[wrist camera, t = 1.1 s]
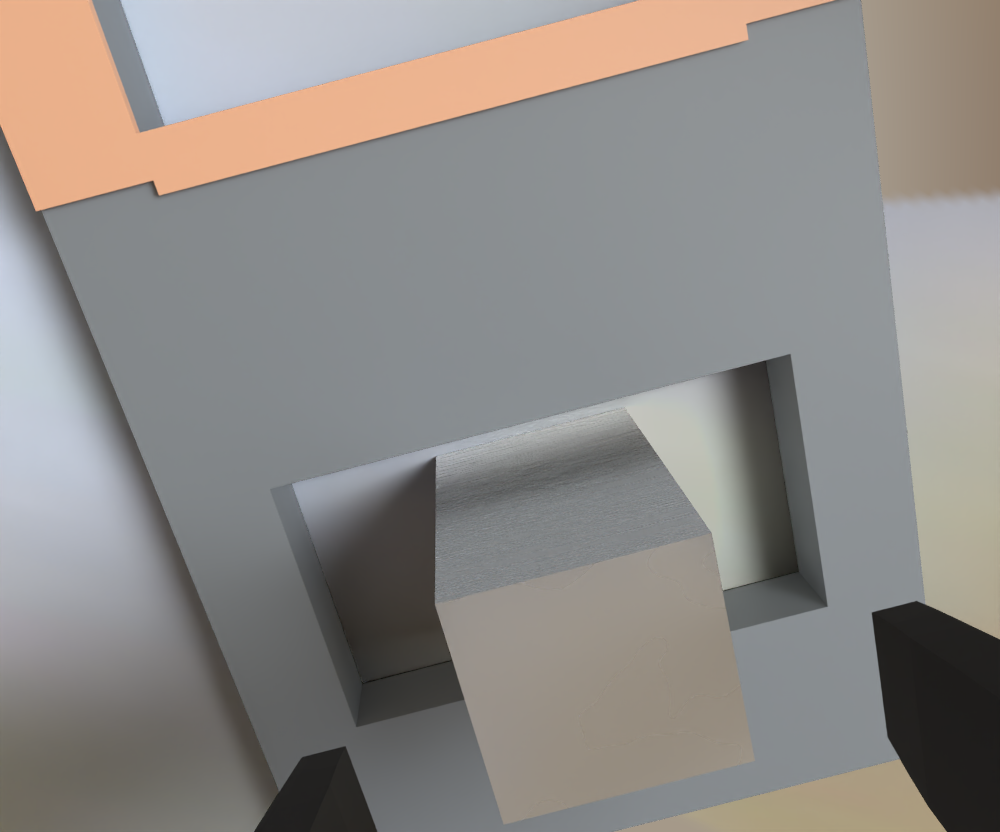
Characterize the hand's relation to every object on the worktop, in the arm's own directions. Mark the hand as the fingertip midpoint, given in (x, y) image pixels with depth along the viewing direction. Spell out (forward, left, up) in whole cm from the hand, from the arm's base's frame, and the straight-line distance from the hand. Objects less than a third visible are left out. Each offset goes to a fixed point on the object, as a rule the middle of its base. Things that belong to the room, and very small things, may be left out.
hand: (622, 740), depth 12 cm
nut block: (0, 0, -7) cm, 7 cm away
